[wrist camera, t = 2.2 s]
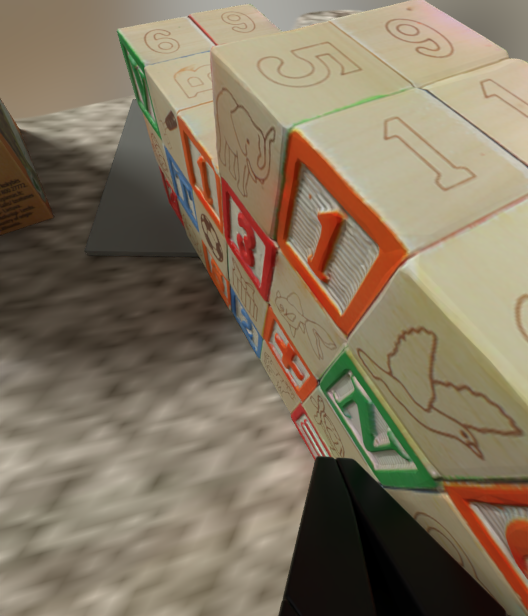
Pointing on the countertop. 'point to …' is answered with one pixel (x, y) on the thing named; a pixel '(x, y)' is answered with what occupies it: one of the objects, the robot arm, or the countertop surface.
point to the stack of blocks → (367, 244)
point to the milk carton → (18, 180)
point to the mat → (136, 202)
